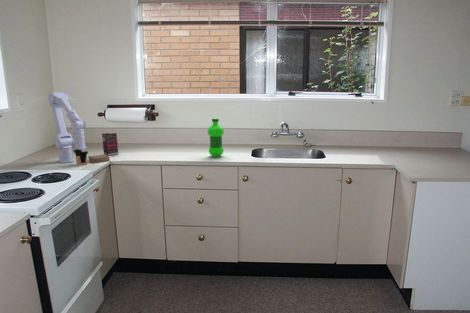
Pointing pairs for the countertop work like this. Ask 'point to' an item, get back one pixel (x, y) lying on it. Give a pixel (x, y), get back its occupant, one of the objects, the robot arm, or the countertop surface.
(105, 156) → the walnut base
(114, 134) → the supplement box
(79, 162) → the terracotta cube
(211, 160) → the countertop surface
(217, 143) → the plastic bottle
